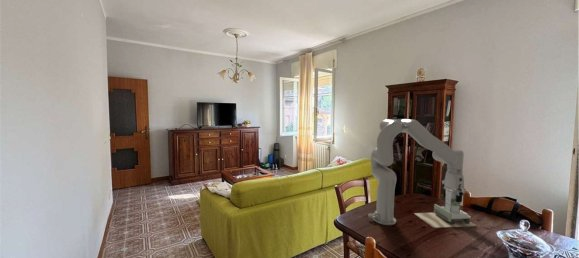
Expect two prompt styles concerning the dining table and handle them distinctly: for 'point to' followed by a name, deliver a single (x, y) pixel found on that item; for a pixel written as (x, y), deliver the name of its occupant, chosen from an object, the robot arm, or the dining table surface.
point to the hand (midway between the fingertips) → (452, 198)
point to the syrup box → (451, 202)
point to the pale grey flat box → (451, 215)
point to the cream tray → (440, 221)
